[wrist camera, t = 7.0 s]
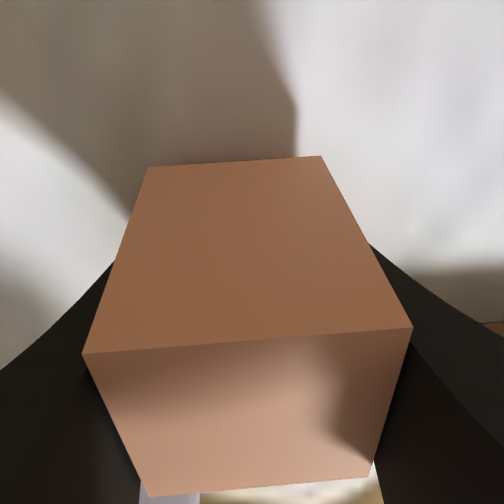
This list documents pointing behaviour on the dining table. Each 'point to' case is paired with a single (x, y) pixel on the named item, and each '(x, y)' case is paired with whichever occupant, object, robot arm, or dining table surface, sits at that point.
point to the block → (246, 330)
